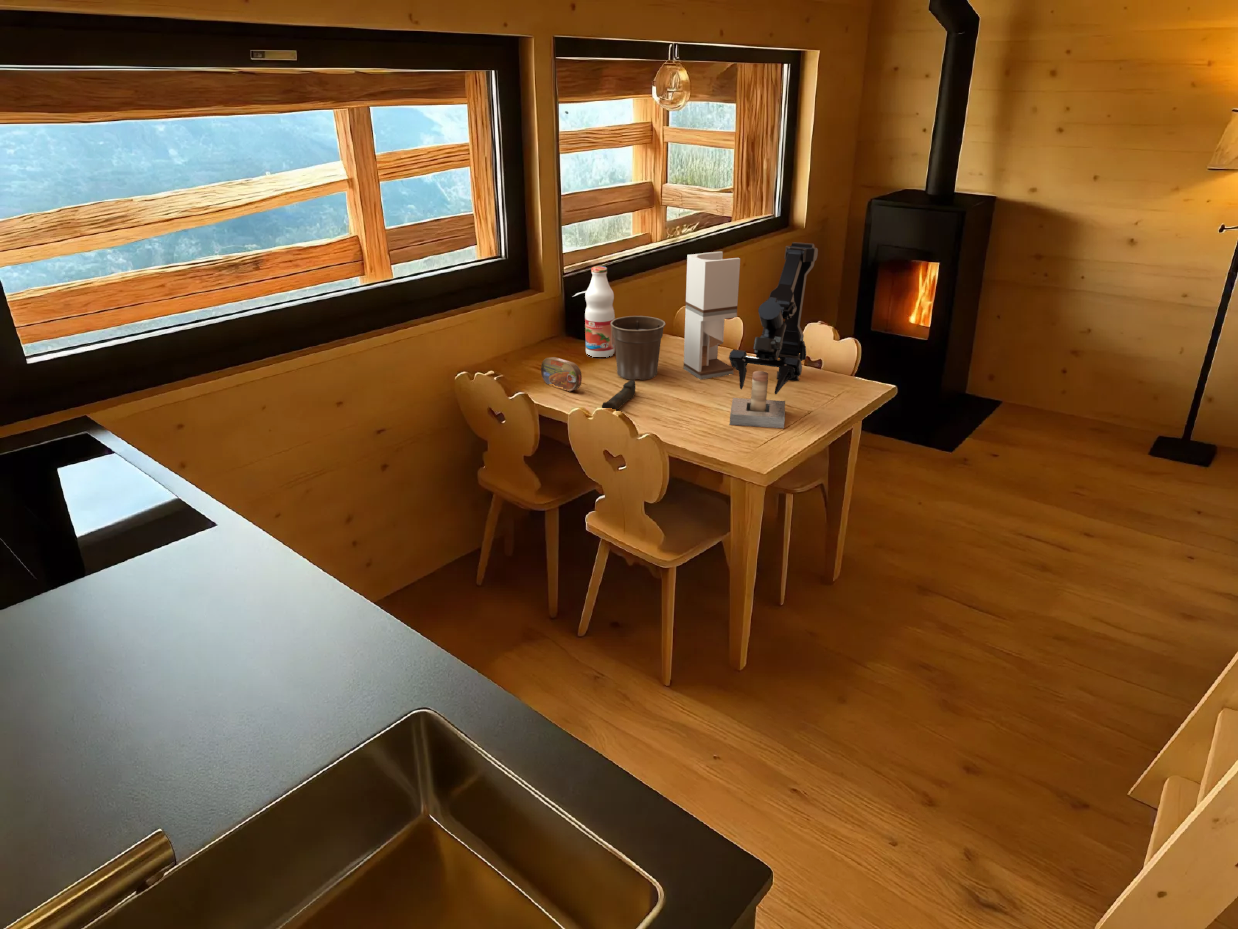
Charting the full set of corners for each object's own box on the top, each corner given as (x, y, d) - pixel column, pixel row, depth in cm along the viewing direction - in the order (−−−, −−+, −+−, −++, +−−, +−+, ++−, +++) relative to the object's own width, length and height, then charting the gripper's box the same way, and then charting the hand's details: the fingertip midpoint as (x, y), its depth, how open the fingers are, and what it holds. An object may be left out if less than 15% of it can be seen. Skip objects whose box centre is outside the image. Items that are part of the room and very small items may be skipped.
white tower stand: (700, 379, 252) (705, 261, 237) (683, 368, 261) (687, 254, 246) (733, 374, 257) (740, 258, 241) (715, 363, 265) (721, 251, 250)
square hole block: (732, 407, 232) (732, 397, 230) (783, 411, 229) (784, 401, 228) (729, 424, 221) (730, 414, 220) (783, 428, 219) (784, 417, 217)
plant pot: (630, 362, 267) (630, 312, 260) (674, 371, 259) (675, 320, 252) (600, 376, 255) (599, 324, 248) (645, 387, 247) (645, 333, 240)
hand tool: (614, 417, 226) (614, 401, 224) (601, 414, 228) (601, 398, 226) (643, 395, 242) (643, 379, 240) (630, 392, 243) (631, 377, 241)
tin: (540, 382, 250) (539, 355, 247) (548, 379, 252) (547, 352, 249) (576, 395, 241) (575, 366, 237) (583, 392, 243) (583, 364, 240)
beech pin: (747, 415, 227) (750, 371, 221) (762, 414, 227) (765, 370, 222) (752, 421, 223) (755, 376, 218) (766, 420, 224) (770, 375, 218)
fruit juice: (620, 353, 275) (620, 267, 263) (602, 360, 268) (601, 272, 256) (598, 347, 280) (597, 263, 268) (579, 354, 274) (577, 268, 262)
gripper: (732, 319, 221) (718, 372, 217) (803, 327, 214) (790, 382, 210) (739, 340, 231) (725, 391, 227) (807, 348, 224) (794, 401, 220)
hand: (757, 391), depth 221 cm, fingers open, 9 cm apart
